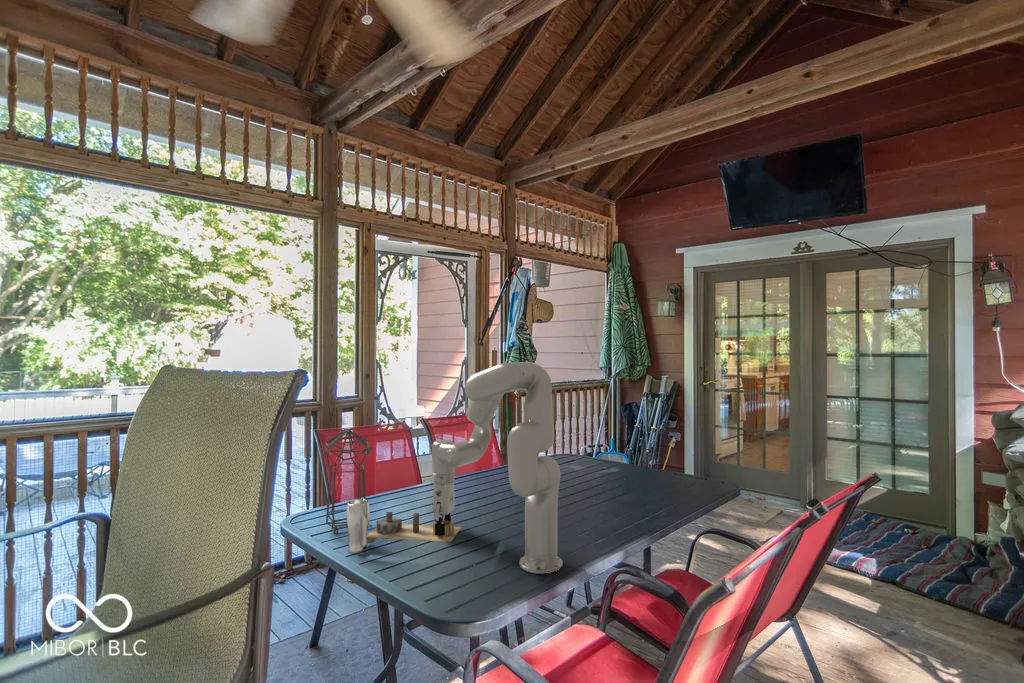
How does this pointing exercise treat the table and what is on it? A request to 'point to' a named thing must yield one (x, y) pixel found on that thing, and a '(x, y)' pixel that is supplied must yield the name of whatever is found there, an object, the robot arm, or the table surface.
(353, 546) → the beer glass
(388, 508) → the table surface
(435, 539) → the gear board
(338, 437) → the geometric lantern
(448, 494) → the robot arm
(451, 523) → the brass gear
